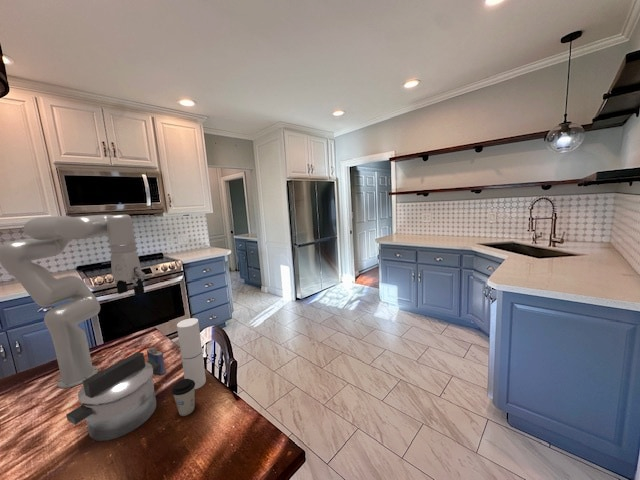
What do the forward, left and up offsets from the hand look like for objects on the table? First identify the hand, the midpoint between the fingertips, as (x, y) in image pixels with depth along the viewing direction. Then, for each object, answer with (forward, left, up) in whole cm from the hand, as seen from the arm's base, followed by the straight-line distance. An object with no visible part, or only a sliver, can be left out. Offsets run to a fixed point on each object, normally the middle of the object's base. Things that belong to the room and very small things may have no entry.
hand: (131, 293), depth 98 cm
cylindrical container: (+20, +6, -36) cm, 42 cm away
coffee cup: (+28, -5, -36) cm, 46 cm away
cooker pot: (+10, -14, -36) cm, 40 cm away
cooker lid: (+10, -14, -24) cm, 30 cm away
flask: (-2, +6, -37) cm, 37 cm away
